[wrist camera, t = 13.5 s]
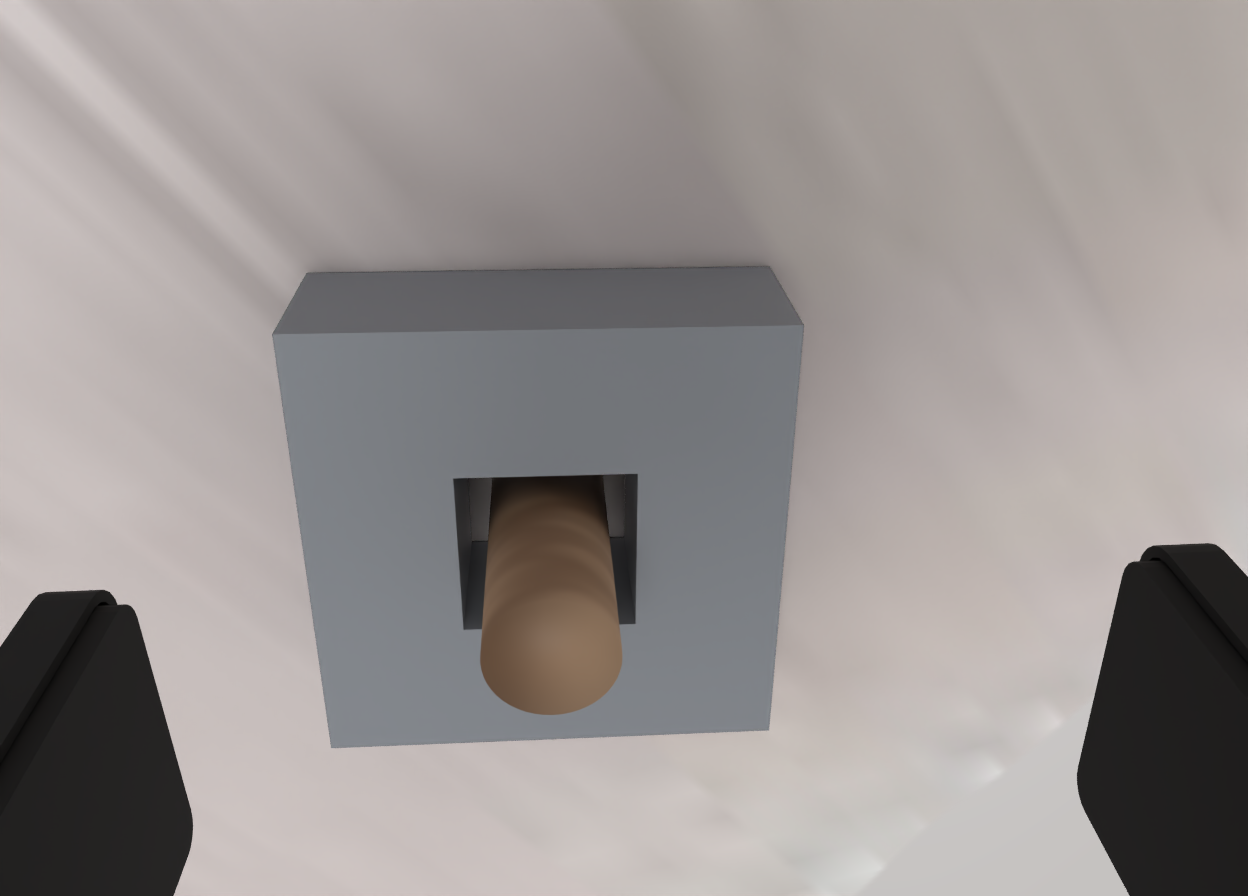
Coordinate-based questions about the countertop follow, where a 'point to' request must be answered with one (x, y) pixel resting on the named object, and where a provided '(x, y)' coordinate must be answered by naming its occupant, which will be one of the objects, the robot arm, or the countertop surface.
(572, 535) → the peg
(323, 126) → the countertop surface
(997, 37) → the countertop surface
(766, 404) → the socket block
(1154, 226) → the countertop surface
